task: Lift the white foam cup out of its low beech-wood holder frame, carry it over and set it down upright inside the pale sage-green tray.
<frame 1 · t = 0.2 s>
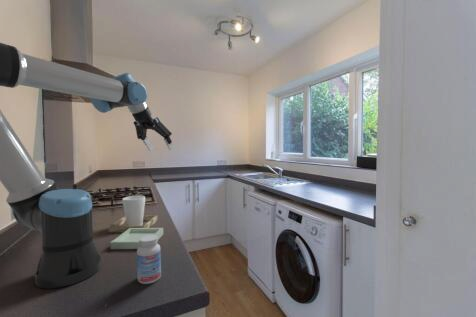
hand: (161, 149, 111), 35 cm above the worktop, tool tilted 35°, fingers open, 13 cm apart
tray: (139, 240, 87), on the worktop
foam cup: (135, 226, 104), on the worktop
holder: (134, 225, 104), on the worktop
pill bottle: (149, 279, 62), on the worktop
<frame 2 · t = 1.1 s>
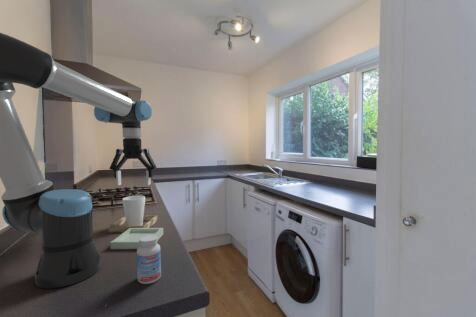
hand: (133, 185, 103), 19 cm above the worktop, tool pointing down, fingers open, 13 cm apart
nothing on the worktop moved.
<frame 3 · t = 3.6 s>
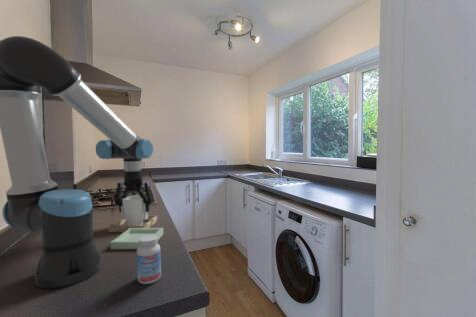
hand: (134, 219, 104), 3 cm above the worktop, tool pointing down, fingers closed on foam cup, 9 cm apart
foam cup: (135, 226, 104), on the worktop, touching gripper
everything else where it was.
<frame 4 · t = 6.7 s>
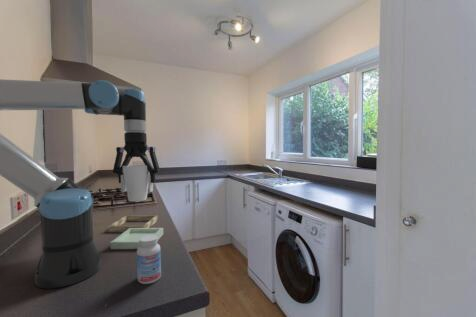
hand: (137, 191, 86), 19 cm above the worktop, tool pointing down, fingers closed on foam cup, 9 cm apart
foam cup: (137, 200, 86), point 16 cm above the worktop, touching gripper
everything else where it was.
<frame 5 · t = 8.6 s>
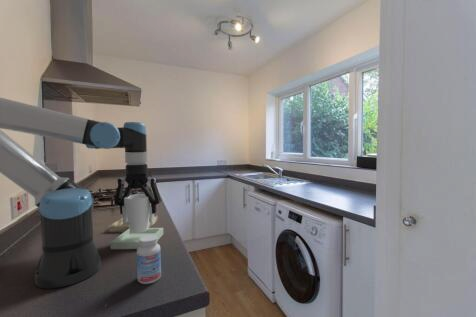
hand: (138, 222, 87), 7 cm above the worktop, tool pointing down, fingers closed on foam cup, 9 cm apart
foam cup: (139, 230, 87), point 4 cm above the worktop, touching gripper
everything else where it was.
when the fingers open (5 cm above the worktop, at t = 10.1 s): foam cup stays where it is, resting on tray.
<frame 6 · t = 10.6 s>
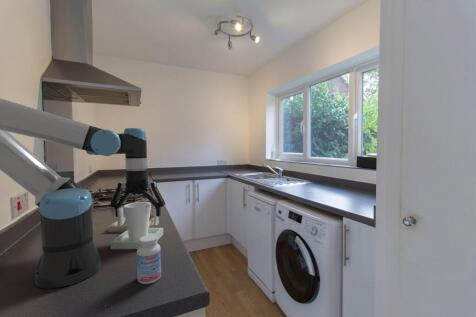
hand: (138, 224, 87), 6 cm above the worktop, tool pointing down, fingers open, 13 cm apart
foam cup: (138, 238, 87), point 1 cm above the worktop, touching tray
everything else where it was.
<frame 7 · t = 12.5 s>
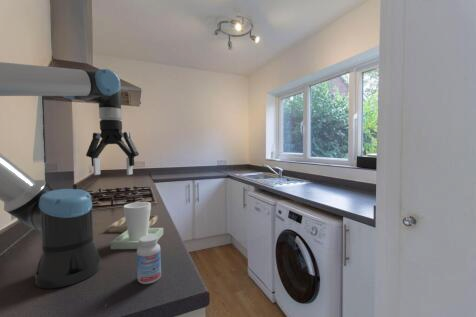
hand: (113, 174, 89), 25 cm above the worktop, tool pointing down, fingers open, 13 cm apart
nothing on the worktop moved.
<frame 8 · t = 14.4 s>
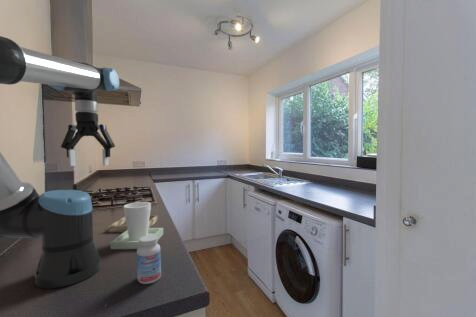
hand: (89, 165, 92), 29 cm above the worktop, tool pointing down, fingers open, 13 cm apart
nothing on the worktop moved.
at the end: foam cup 0.2 cm from the tray (horizontally); foam cup point 0.8 cm above the worktop; foam cup tilted 0° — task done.
